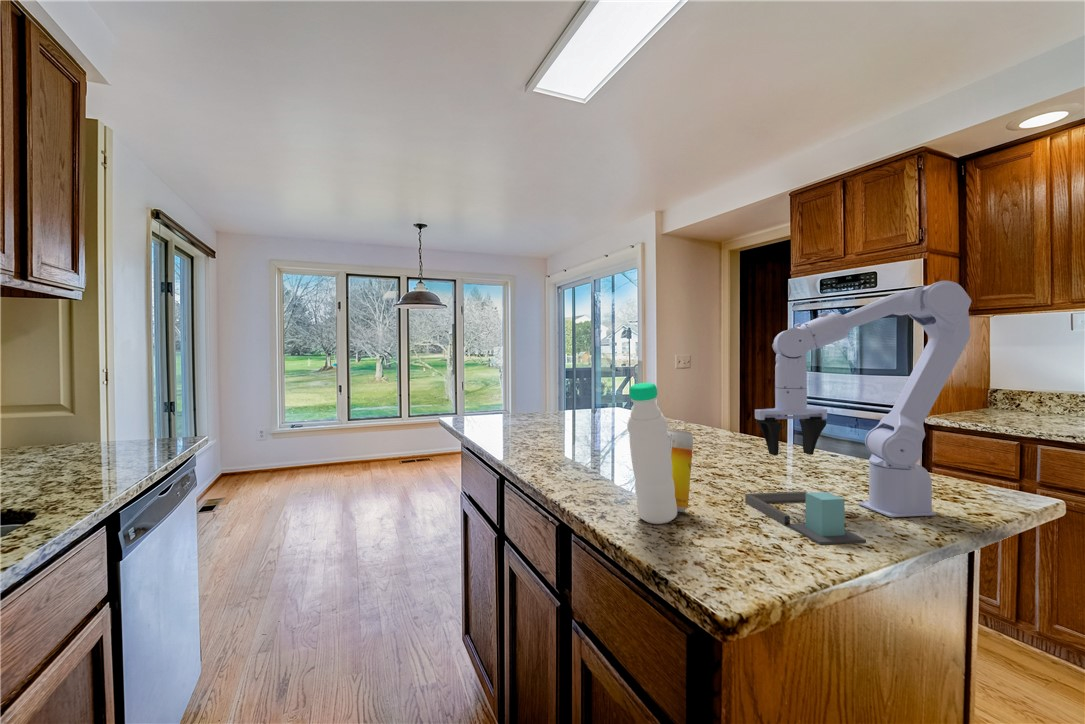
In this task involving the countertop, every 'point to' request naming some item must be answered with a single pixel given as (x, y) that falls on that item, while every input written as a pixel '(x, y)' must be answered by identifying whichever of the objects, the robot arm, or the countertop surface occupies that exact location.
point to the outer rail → (762, 499)
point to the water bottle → (651, 456)
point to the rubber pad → (820, 540)
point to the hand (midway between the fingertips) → (790, 454)
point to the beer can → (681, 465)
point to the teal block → (825, 514)
